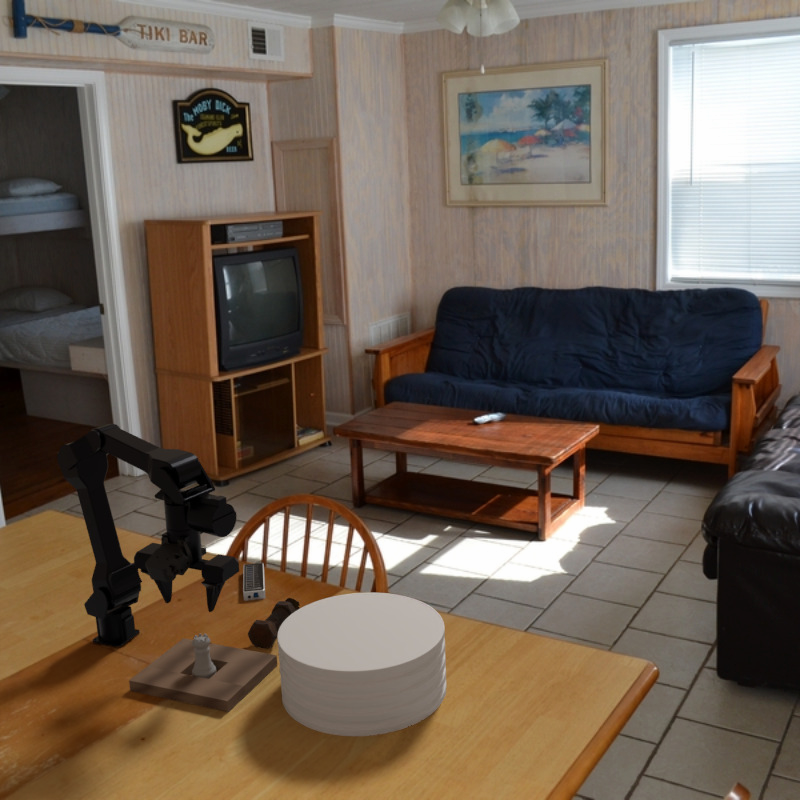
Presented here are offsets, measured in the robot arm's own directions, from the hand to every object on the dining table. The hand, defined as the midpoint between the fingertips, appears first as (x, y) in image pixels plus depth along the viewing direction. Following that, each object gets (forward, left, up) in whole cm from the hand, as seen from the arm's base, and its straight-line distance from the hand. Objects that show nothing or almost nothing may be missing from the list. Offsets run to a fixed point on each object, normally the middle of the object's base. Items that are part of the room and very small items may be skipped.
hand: (189, 606), depth 175 cm
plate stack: (+32, +3, -12) cm, 35 cm away
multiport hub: (-8, +33, -12) cm, 36 cm away
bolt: (+8, +17, -12) cm, 22 cm away
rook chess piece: (+4, -3, -12) cm, 13 cm away
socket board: (+4, -3, -12) cm, 13 cm away
